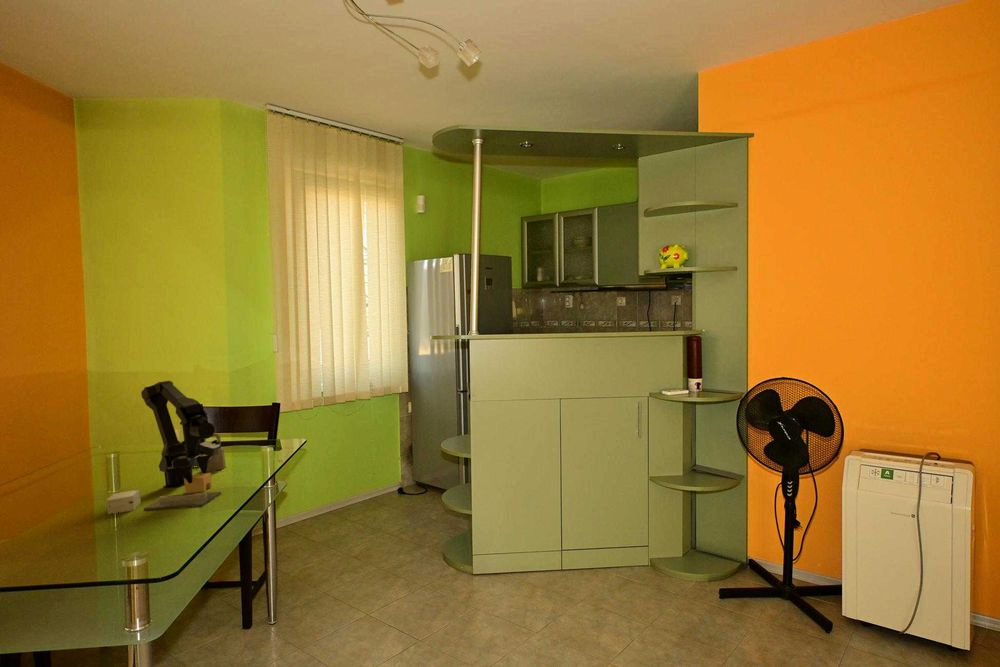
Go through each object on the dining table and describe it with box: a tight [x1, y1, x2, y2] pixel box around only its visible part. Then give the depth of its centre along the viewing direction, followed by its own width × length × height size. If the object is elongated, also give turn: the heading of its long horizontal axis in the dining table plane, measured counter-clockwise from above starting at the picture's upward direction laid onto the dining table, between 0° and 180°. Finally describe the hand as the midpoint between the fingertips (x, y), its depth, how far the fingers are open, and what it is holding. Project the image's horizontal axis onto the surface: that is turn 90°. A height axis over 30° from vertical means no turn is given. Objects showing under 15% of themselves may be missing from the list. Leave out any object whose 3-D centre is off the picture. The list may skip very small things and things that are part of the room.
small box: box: [106, 489, 142, 515], centre depth 194 cm, size 8×8×5 cm
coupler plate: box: [143, 491, 222, 512], centre depth 195 cm, size 20×12×2 cm, turn 88°
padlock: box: [207, 432, 227, 472], centre depth 235 cm, size 4×8×15 cm, turn 98°
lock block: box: [184, 472, 213, 494], centre depth 208 cm, size 7×5×5 cm
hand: (197, 479), depth 208 cm, fingers open, 9 cm apart
